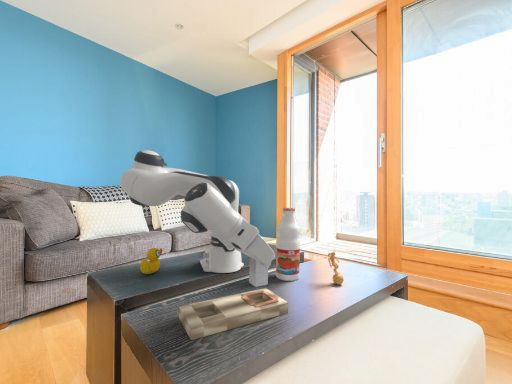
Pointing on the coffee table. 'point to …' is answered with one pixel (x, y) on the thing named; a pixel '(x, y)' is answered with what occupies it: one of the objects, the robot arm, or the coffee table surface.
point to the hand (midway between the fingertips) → (263, 262)
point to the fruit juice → (288, 247)
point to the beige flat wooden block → (230, 312)
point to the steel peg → (257, 273)
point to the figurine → (336, 277)
